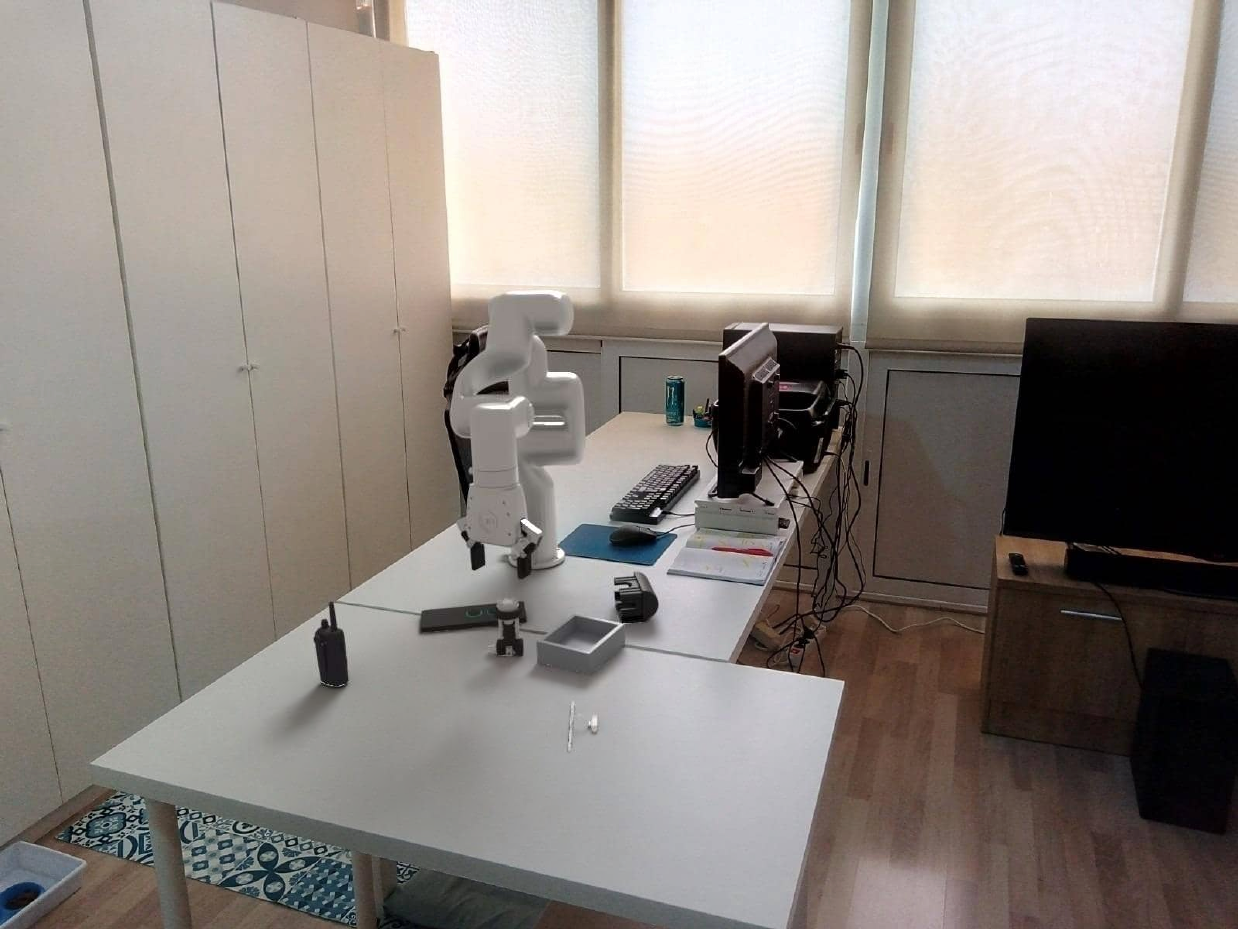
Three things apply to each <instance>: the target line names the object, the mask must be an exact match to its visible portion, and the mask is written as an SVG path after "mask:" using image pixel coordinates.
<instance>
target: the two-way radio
mask: <svg viewBox="0 0 1238 929" xmlns="http://www.w3.org/2000/svg"><path fill="white" fill-rule="evenodd" d="M328 610H329V611H328V612H329V621H330V622H329V621H328V619H327V618H323V619H321V621H320V627H318V628H317V630H316V631H315V632H314V636H313V643H314V645H315V647H314V648H315V652H316V653H315V654H316V659H317V665H318V672H319V678H320V682H321V681H322V682H324V683H325V684H329V685H333V686H339V685H342V684H346V683H347V682H348V681H350V680H349V669H348V668H349V667H348V656H347V647H346V646H347V645H346V636H345V633H344V629H342V628H340V627H338V623H337V617H336V608H335V603H334V601H329V602H328ZM329 623H330V625H329ZM348 683H349V682H348ZM348 683H347V684H348ZM347 684H346V685H347Z"/></svg>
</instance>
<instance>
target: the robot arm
mask: <svg viewBox="0 0 1238 929" xmlns="http://www.w3.org/2000/svg"><path fill="white" fill-rule="evenodd" d="M487 305H488V306H487V313H488V318H489V324H488V329H487V337H486V343H485V349H484V350H483V351H481V352H480V353H478V354H477V356H475V357H474V358H472V360H470V361H469V362H468V363H467V364H466V366H464V367H463V368H462V370H460V372H459V373H458V376H457V377H456V380H455V382H454V387H453V392H452V398H451V403H450V404H451V405H450V412H449V420H450V426H451V428H452V429H451V430H452V431H453V432H454V433H455V435H457V436H458V437H460V438H463V439H470V443H471V444H470V445H471V446H470V447H471V462H472V463H471V464H472V466H471V467H469V468H468V474H469V475H472V477H473V478H472V480H473V482H472V483H470V484H469V489H468V492H467V493H468V494H467V500H466V516H464V517H462V518H460V519H457V520H456V523H455V524H456V525H457V528H458V530H459V532H460V535H461V536H460V537H461V538H462V539H463V541H465V543H466V548H468V549H469V552H470V553H469V554H470V556H469V557H470V564H471V571H473V572H475V571H477V570H479V569H480V568H483V567H484V566H486V550H485V548H486V547H485V544H487V545H491V546H499V547H503V548H510V551H511V552H510V553H509V554H508V562H509V564H511V566H514V567H515V568H516V569H517V570H516V572H517V578H518V580H520V581H521V580H524V579H526V578H527V577H530V576H531V574H532V570H540V569H541V570H542V569H548V568H551V567H555V566H557V565H559V564H562V562H563V561H565V557H566V554H565V550H564V549H562V548H560V547H558V534H557V533H558V532H557V531H558V530H557V526H558V525H557V507H556V505H557V504H556V487H555V482H554V480H553V477H552V476H551V474H550V473H549V472H548V471H547V470H546V468H545V467H554V466H555V467H556V466H557V467H559V466H560V467H561V466H563V467H565V466H567V467H568V466H575V465H580V464H582V462H583V461H584V459H585V456H586V453H587V452H586V451H587V449H586V448H587V446H586V445H587V441H586V438H587V436H586V419H585V418H586V416H585V413H586V412H585V396H584V387H583V382H582V381H581V379H580V377H579V376H578V375H577V374H575V373H573V372H569V371H568V372H566V371H564V372H563V371H561V372H560V371H559V372H557V371H556V372H551V371H549V368H548V351H547V348H546V346H545V343H544V342H543V341H542V339H541V338H540V337H541V336H566V335H568V334H569V333H570V331H571V330H572V328H573V325H574V320H575V319H574V318H575V312H574V305H573V301H572V299H571V297H570V296H569V295H568V294H567V293H565V292H560V291H555V290H534V291H533V290H531V291H529V290H525V291H524V290H523V291H521V290H518V291H508V292H504V293H502V294H499V295H496V296H493V297H492V298H491V299H490V300H489V301H488V304H487ZM505 380H508V394H478V393H479V392H481V391H482V390H484V389H486V388H488V387H489V386H492V385H495V384H497V383H500V382H503V381H505ZM536 417H537V418H538V417H539V418H542V417H543V418H550V417H551V418H552V417H553V418H556V417H557V418H561V419H562V421H555V422H554V421H552V422H551V421H550V422H549V421H535V418H536Z"/></svg>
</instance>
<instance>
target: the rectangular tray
mask: <svg viewBox="0 0 1238 929" xmlns="http://www.w3.org/2000/svg"><path fill="white" fill-rule="evenodd" d="M625 626H626V624H622V623H621V622H617V621H612V620H607V619H603V618H600V617H594V616H589V615H586V614H580V613H577V612H572V614H571V615H569V616H568V617H566V618H565V619H564V620H562V621H561V622H560V623H558V624H557V625H556V626H555V627H553V628H552V629H551V630H549V631H548V632H547V633H545V634H544V635H543V636H541V637H540V638H538V639H537V640H536V642H535V643H536V660H537V663H539V662H540V664H544V665H547V664H549V665H548V666H551V665H552V666H551V667H555V668H559V667H561V668H560V669H563V668H564V669H563V670H567V669H568V670H567V671H571V670H572V672H574V671H577V672H576V673H578V672H580V673H579V674H582V673H583V675H586V674H589V675H588V676H591V675H592V674H593V673H595V672H596V669H597V668H598V667H599V668H600V667H601V666H602V665H604V664H605V663H606V662H607V661H608V660H609V659H610V658H611V657H612V656H614V655H615V654H616V653H617V652H618V651H619V650H621V648H623V647H624V646H625V645H626V630H625V628H626V627H625ZM605 661H606V662H605ZM599 668H598V669H599ZM598 669H597V670H598ZM590 674H591V675H590Z"/></svg>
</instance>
